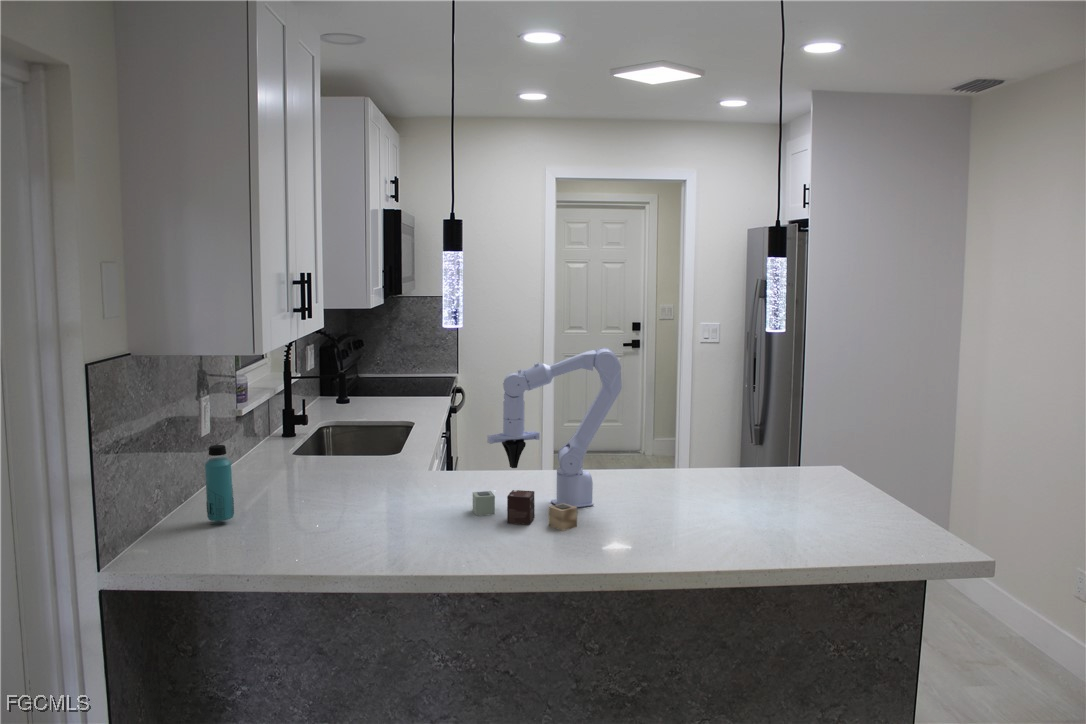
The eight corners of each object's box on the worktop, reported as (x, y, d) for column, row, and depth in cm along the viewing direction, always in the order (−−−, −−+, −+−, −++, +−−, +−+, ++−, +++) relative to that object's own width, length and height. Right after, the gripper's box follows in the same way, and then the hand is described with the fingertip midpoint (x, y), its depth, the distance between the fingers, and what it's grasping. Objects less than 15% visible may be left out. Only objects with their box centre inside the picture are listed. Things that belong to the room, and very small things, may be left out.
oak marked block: (563, 522, 219) (563, 502, 218) (576, 526, 215) (577, 506, 214) (548, 525, 216) (548, 505, 215) (561, 530, 212) (562, 510, 211)
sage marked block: (491, 509, 230) (491, 490, 229) (494, 514, 225) (494, 495, 224) (472, 510, 228) (472, 491, 228) (476, 515, 223) (475, 496, 223)
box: (529, 525, 216) (530, 497, 215) (506, 523, 217) (506, 495, 216) (534, 518, 222) (535, 490, 221) (512, 516, 223) (512, 489, 222)
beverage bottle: (240, 520, 218) (237, 443, 215) (222, 528, 212) (219, 449, 209) (219, 518, 220) (215, 441, 217) (201, 525, 214) (197, 447, 211)
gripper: (532, 413, 237) (531, 461, 239) (483, 417, 231) (483, 466, 233) (543, 418, 231) (542, 467, 232) (493, 422, 225) (492, 472, 226)
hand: (513, 467), depth 232 cm, fingers closed
